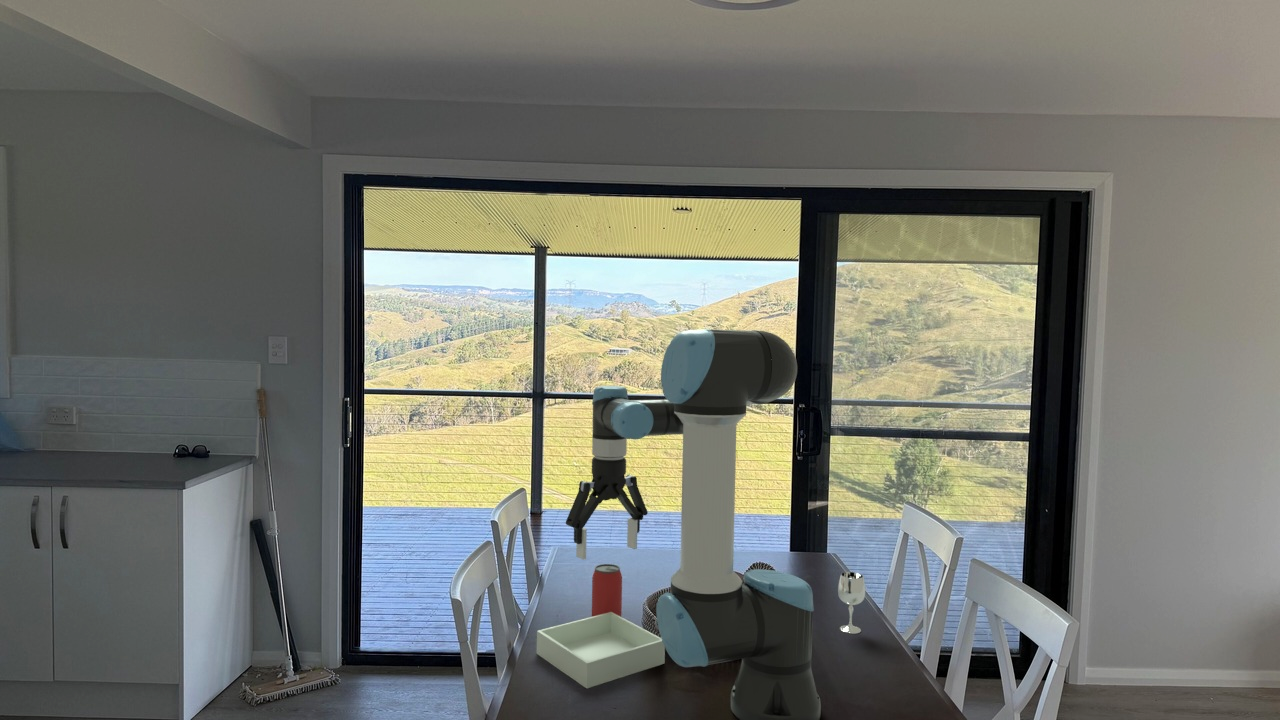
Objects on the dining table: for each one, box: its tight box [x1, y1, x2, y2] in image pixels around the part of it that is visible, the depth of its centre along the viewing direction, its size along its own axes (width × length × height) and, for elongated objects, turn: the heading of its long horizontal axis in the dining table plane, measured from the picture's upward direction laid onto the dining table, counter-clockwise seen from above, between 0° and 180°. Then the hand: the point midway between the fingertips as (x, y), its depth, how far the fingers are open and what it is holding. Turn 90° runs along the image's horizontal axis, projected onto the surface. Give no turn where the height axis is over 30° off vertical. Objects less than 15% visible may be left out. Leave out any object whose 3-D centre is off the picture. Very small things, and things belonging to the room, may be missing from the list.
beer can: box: [591, 563, 623, 617], centre depth 170 cm, size 7×7×12 cm
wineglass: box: [837, 571, 866, 635], centre depth 168 cm, size 6×6×12 cm
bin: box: [536, 612, 666, 689], centre depth 151 cm, size 18×18×5 cm
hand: (607, 552), depth 170 cm, fingers open, 13 cm apart
